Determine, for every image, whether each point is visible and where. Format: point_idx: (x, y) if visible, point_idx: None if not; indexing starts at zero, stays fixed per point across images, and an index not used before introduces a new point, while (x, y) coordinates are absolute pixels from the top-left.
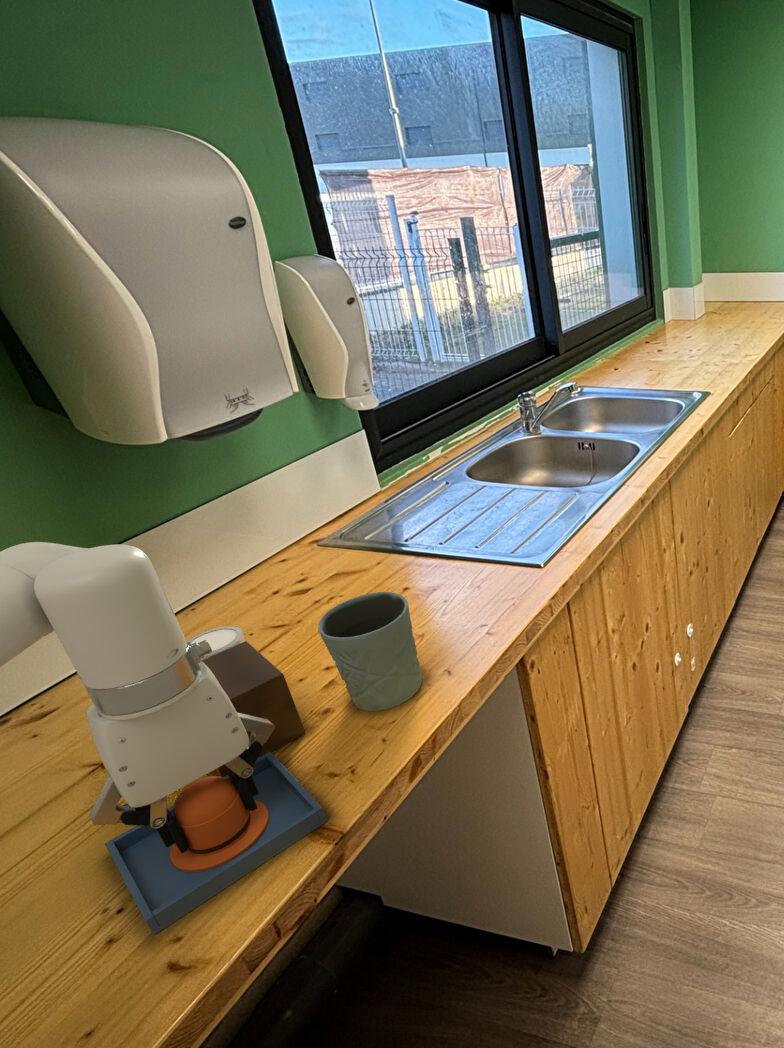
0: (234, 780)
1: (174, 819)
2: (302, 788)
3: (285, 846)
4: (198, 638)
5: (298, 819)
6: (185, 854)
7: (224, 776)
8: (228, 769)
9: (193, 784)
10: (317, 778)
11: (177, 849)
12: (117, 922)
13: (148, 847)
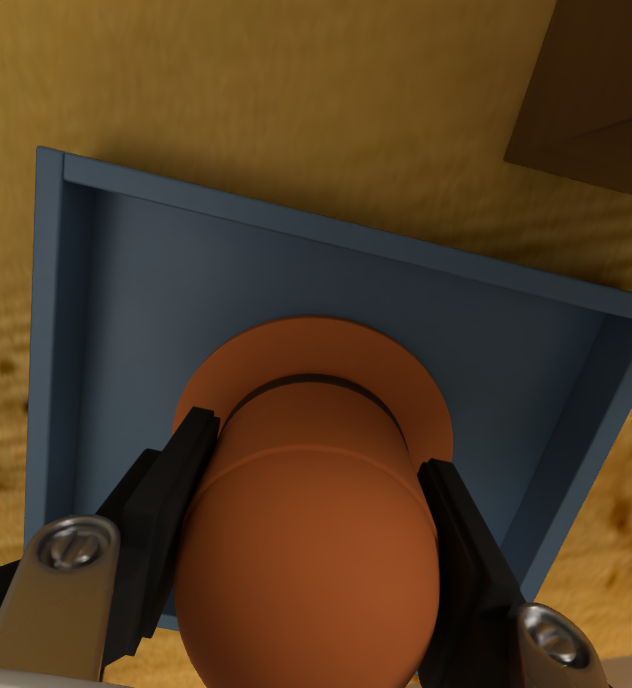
0: (441, 661)
1: (149, 632)
2: (535, 590)
3: None
4: None
5: None
6: None
7: (516, 160)
8: (491, 588)
9: (294, 682)
10: (596, 485)
11: (206, 391)
12: (15, 437)
13: (166, 266)
